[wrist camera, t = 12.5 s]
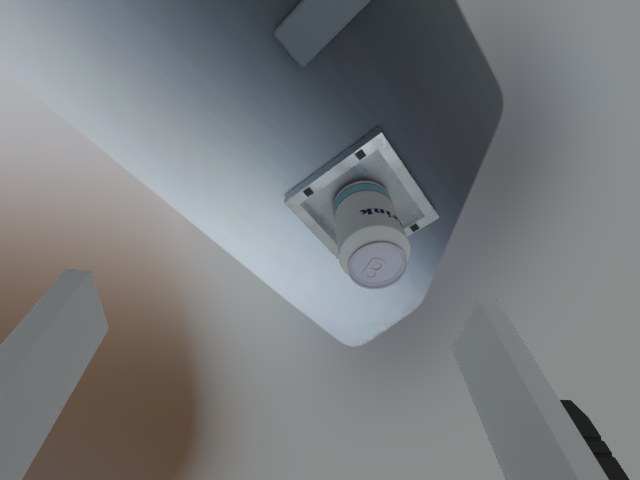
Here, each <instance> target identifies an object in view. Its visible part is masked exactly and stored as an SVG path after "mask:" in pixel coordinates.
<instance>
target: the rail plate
mask: <svg viewBox="0 0 640 480" xmlns="http://www.w3.org/2000/svg"><path fill="white" fill-rule="evenodd" d="M358 181H372V182H375V183H377V184H379V185H381V186H383V187H384V188H385V189H386V190H387V192H388V193H389V195H390V198H391V200H392V202H393V205H394V207H395V210H396V212H397V214H398V217H399V219H400V222H401V224H402V227H403V229H404V231H405V234H406V236H407V237H408V236H409V235H411V234H413V233H414V232H416V231H418V230H419V229H421V228H423V227H424V226H426V225H428V224H430V223H431V222H433V221H435V220H436V219H438V218H439V216H438V215H437V213H436V211H435V210H434V208H433V207H432V205H431V204H430V202H429V201H428V199H427V198H426V196H425V195H424V193H423V192H422V190H421V189H420V187H419V186H418V184H417V183H416V181H415V180H414V178H413V177H412V175H411V174H410V173H409V171H408V170H407V168H406V167H405V165H404V164H403V162H402V161H401V159H400V158H399V156H398V155H397V153H396V152H395V150H394V149H393V147H392V146H391V144H390V143H389V141H388V140H387V139H386V137H385V136H384V134H383V133H382V131H381V130H380V128H379V127H376V128H375V129H374V130H372V131H371V132H370V133H368V134H367V135H366V136H364V137H363V138H361V139H360V140H359V141H357V142H356V143H355V144H353V145H352V146H351V147H349V148H348V149H346V150H345V151H344V152H342V153H341V154H340V155H338V156H337V157H336V158H334V159H333V160H331V161H330V162H329V163H327V164H326V165H325V166H323V167H322V168H321V169H319V170H318V171H316V172H315V173H314V174H312V175H311V176H310V177H308V178H307V179H306V180H304V181H303V182H301V183H300V184H299V185H297V186H296V187H295V188H293V189H292V190H291V191H289V192H288V193H286V194H285V200H284V203H285V204H286V205H287V206H288V207H289V208H290V209H291V210H292V211H293V213H294V214H295V215H296V216H297V217H298V218H299V219H300V220H301V221H302V222H303V223H304V224H305V225H306V226H307V227H308V228H309V229H310V230H311V231H312V232H313V233H314V234H315V235H316V237H317V238H318V239H319V240H320V241H321V242H322V243H323V244H324V245H325V246H326V247H327V248H328V249H329V250H330V251H331V252H332V253H333V254H334V255H335V256H336V257H337V258H338V259H339V255H338V247H337V240H336V232H335V224H334V216H333V203H334V200H335V198H336V196H337V194H338V193H339V192H340V191H341V190H342V189H343V188H344V187H346V186H347V185H349V184H351V183H354V182H358Z"/></svg>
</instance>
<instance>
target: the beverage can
mask: <svg viewBox="0 0 640 480" xmlns="http://www.w3.org/2000/svg"><path fill="white" fill-rule="evenodd" d="M333 216H334V224H335V232H336V240H337V247H338V255H339V262H340V265H341V267H342V269H343V270H344V272H345V273H346V274H347V275H348V276H350V278H351V279H352V280H353V281H354V282H355V283H356V284H357V285H359V286H361V287H364V288H368V289H380V288H385V287H388V286H390V285H392V284H394V283H396V282H397V281H398V280H400V279H401V278H402V276H403V275H404V274H405V272H406V269H407V265H408V260H409V257H410V244H409V241H408V239H407V236H406V234H405V231H404V229H403V227H402V224H401V222H400V219H399V217H398V214H397V212H396V210H395V207H394V205H393V202H392V200H391V198H390V195H389V193H388V192H387V190H386V189H385V188H384V187H383V186H381V185H379V184H377V183H375V182H372V181H358V182H354V183H351V184H349V185H347V186H346V187H344V188H343V189H342V190H341V191H340V192H339V193H338V194H337V196H336V198H335V200H334V203H333Z"/></svg>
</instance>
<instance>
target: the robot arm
mask: <svg viewBox="0 0 640 480" xmlns="http://www.w3.org/2000/svg"><path fill="white" fill-rule="evenodd" d="M108 329H109V327H108V324H107V321H106V317H105V314H104V311H103V308H102V305H101V301H100V298H99V294H98V292H97V288H96V285H95V281H94V278H93V275H92V272H91V270H77V269H65V270H64V271H63V273H62V274H61V275H60V276H59V277H58V278H57V280H56V281H55V282H54V283H53V284H52V286H51V287H50V288H49V289H48V290H47V291H46V293H45V294H44V295H43V296H42V297H41V298H40V300H39V301H38V302H37V303H36V304H35V305H34V307H33V308H32V309H31V310H30V311H29V312H28V314H27V315H26V316H25V317H24V318H23V320H22V321H21V322H20V323H19V324H18V325H17V327H16V328H15V329H14V330H13V331H12V332H11V334H10V335H9V336H8V337H7V338H6V340H5V341H4V342H3V343H2V344H1V345H0V480H22V478H23V477H24V475H25V473H26V471H27V470H28V468H29V466H30V464H31V463H32V461H33V459H34V458H35V456H36V454H37V452H38V451H39V449H40V447H41V445H42V444H43V442H44V440H45V438H46V436H47V435H48V433H49V431H50V430H51V428H52V426H53V425H54V423H55V421H56V419H57V418H58V416H59V414H60V412H61V411H62V409H63V407H64V405H65V403H66V402H67V400H68V398H69V397H70V395H71V393H72V391H73V390H74V388H75V386H76V384H77V383H78V381H79V379H80V377H81V375H82V374H83V372H84V371H85V369H86V367H87V365H88V364H89V362H90V360H91V358H92V357H93V355H94V353H95V351H96V350H97V348H98V346H99V345H100V343H101V341H102V339H103V337H104V336H105V334H106V332H107V331H108ZM451 348H452V350H453V353H454V355H455V358H456V360H457V363H458V365H459V367H460V370H461V372H462V375H463V377H464V380H465V382H466V384H467V387H468V389H469V392H470V394H471V397H472V399H473V402H474V404H475V406H476V409H477V411H478V414H479V416H480V419H481V421H482V423H483V426H484V428H485V431H486V433H487V436H488V438H489V441H490V443H491V445H492V448H493V450H494V453H495V455H496V458H497V460H498V463H499V465H500V467H501V470H502V472H503V475H504V477H505V479H506V480H629V478H628V477H627V475H626V474H625V472H624V471H623V469H622V468H621V466H620V465H619V463H618V462H617V460H616V459H615V457H612V453H611V451H610V450H609V448H608V447H607V445H606V444H605V442H604V441H602V440H601V436H600V435H599V433H598V432H597V430H596V428H595V427H594V425H593V424H592V422H591V421H590V419H589V418H588V417H587V416H586V415H585V414H584V413H583V412H582V411H581V410H580V409H579V408H578V407H577V406H576V405H575V404H574V403H573V402H572V401H571V400H559V398H558V397H557V395H556V394H555V392H554V390H553V389H552V387H551V385H550V384H549V382H548V381H547V379H546V377H545V376H544V374H543V373H542V371H541V370H540V368H539V366H538V365H537V363H536V361H535V360H534V358H533V357H532V355H531V353H530V352H529V350H528V348H527V347H526V345H525V344H524V342H523V340H522V339H521V337H520V336H519V334H518V332H517V331H516V329H515V328H514V326H513V324H512V323H511V321H510V320H509V318H508V316H507V315H506V313H505V311H504V310H503V308H502V307H501V305H500V303H499V302H498V300H495V299H481V298H477V300H476V301H475V303H474V305H473V307H472V309H471V311H470V313H469V315H468V317H467V319H466V321H465V322H464V324H463V326H462V328H461V330H460V332H459V334H458V336H457V338H456V340H455V342H454V343H453V345H452V347H451Z"/></svg>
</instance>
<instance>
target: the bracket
mask: <svg viewBox="0 0 640 480" xmlns="http://www.w3.org/2000/svg"><path fill="white" fill-rule="evenodd" d="M370 1H371V0H302V1H301V2H300V3H299V4H298V5H297V6H296V7H295V9H294V10H293V11H292V12H291V13H290V14H289V15H288V16H287V17H286V18H285V19H284V21H283V22H282V23H281V24H280V25H279V26H278V27H277V28H276V29H275V30H274V36H275V37H276V38H277V40H278V41H279V42H280V43H281V44H282V45H283V47H284V48H285V49H286V50H287V51H288V53H289V54H290V55H291V56H292V57H293V58H294V60H295V61H296V62H297V63H298V64H299V66H300V67H301V68H304V67H305V66H306V65H307V64H308V63H309V62H310V61H311V60H312V59H313V58H314V57H315V56H316V55H317V54H318V53H319V52H320V51H321V50H322V49H323V48H324V47H325V46H326V45H327V44H328V43H329V42H330V41H331V40H332V39H333V38H334V37H335V36H336V35H337V34H338V33H339V32H340V31H341V30H342V29H343V28H344V27H345V26H346V25H347V24H348V23H349V22H350V21H351V20H352V19H353V18H354V17H355V16H356V15H357V14H358V13H359V12H360V11H361V10H362V9H363V8H364V7H365V6H366V5H367V4H368V3H369V2H370Z"/></svg>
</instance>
